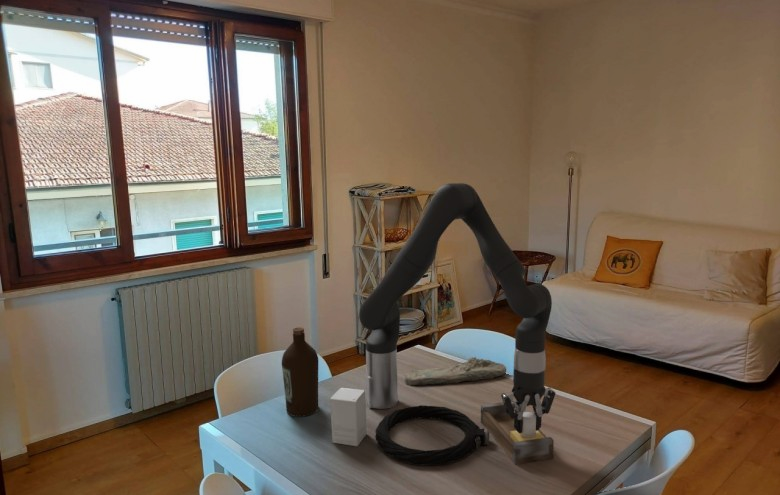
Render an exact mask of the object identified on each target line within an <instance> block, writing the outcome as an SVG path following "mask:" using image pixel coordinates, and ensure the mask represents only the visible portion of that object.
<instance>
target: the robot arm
mask: <svg viewBox="0 0 780 495" xmlns="http://www.w3.org/2000/svg"><path fill="white" fill-rule="evenodd" d="M456 220H462V221H463V222H464V224H466V225H467V226H468V228H469V229H470V230H471V232H472V233H473V234H474V237H475V238H476V241H477V244H478V247H479V250H480V254H481V257H482V259H483V260H484V262H485V264H486V265H487V267H488V268H489V270H490V271H491V272H492V274H493V276H494V277H495V278H496V280H497V281H498V282H499V283H500V286H501V290H502V292H503V294H504V297H505V299H506V301H507V303H508V305H509V307H510V309H511V310H512V312H514V313H515V314H516V315H518V316H519V317H521V318H522V320H521V322H520V323H519V324H518V325H517V326H516V330H515V340H514V341H515V344H514V345H515V347H514V352H513V372H512V373H513V374H512V375H513V378H512V380H513V381H512V384H513V387H512V389H511V392H509V393H507V394H506V393H501V396H500V397H501V399H502V402H503V403H504V406H505V409H506V412H507V414H508V415H509V416H510V417H511V418H512V419H513V418H514V428H515V429H516V431H517V432H518V433H522V425H523V420H522V416H523V413H524V412H526V409H527V407H529V406H532V411H533V414H535V415H536V431H538V430H540V428H541V427H542V418H543V415H545V414H546V415H548V414H549V413H550V410H551V409H552V404H553V402H554V400H555V397H556V393H557V392H555V391H554V390H553V389H552V388H551V387H547V388H546V386H545V384H546V383H545V382H546V364H547V363H546V362H547V361H546V331H547V327H548V324H549V320H550V316H551V312H552V306H553V305H552V304H553V301H552V300H553V299H552V296H551V292H550V290H549V289H548V287H546V286H545V285H544V284H541V283H533V284H530V285H527V283H526V281H525V279H524V278H523V277H524V276H525V274H526V268H525V266H524V265H523V263H522V262H521V261H520V260H519V258H518V257H517V255H516V254H515V253H514V251H513V250H512V249H511V247H510V246H509V244H508V243H507V242H506V240H505V239H504V238H503V236H502V235H501V233H500V231H499V230H498V228H497V226H496V225H495V223H494V221H493V220H492V218H491V216H490V215H489V213H488V211H487V209H486V207H485V205H484V203H483V202H482V200H481V197H480V196H479V194H478V192H477V191H476V189H475V188H474V187H473V186H472V185H470V184H468V183H461V182H460V183H459V182H458V183H457V182H453V183H446V184H443V185H441V186H440V187H438V189H437V190H436V191H435V193H434V194H433V196H432V198H431V199H430V202H429V203H428V206H427V208H426V210H425V211H424V213H423V216H422V217H421V219H420V221H419V222H418V224H417V225H416V227H415V228H414V230H413V232H411V234H410V236H409V237H408V239H407V240H406V242H405V243H404V244H403V246H402V247H401V249H400V250H399V252H398V253H397V255H396V257H395V258H394V260H393V261H392V263H391V265H390V266H389V268H388V269H387V271H386V272H385V273H384V275H383V277H382V279H381V280H380V282H379V283H378V284H377V286H376V287H375V289H373V291H372V292H371V293H370V294H369V295H368V296H367V298H366V299H365V300H364V301H363V302H362V304H361V306H360V308H359V313H358V314H359V315H358V316H359V321H360V324H361V325H362V327H364V328H365V329H367V330H369V331H371V333H370V334H369V335H368V337H367V338H366V340H365V365H366V368H365V369H366V370H365V371H364V380H365V383H364V384H365V401H366V404H367V406H368V408H369V409H377V410H378V409H379V410H385V409H391V408H393V407H396V405H397V404H398V401H399V400H398V396H399V394H398V352H397V351H398V350H397V349H398V348H397V346H398V341H399V338H400V322H401V321H400V320H401V313H400V306H399V304H398V303H399V302H398V301H399V300H400V299H401V298H402V297H403V296H404V295H405V294H407V293H408V292H409V291H410V290H411V289H412V288H414V287H415V286H416V284H418V283H419V282H420V280H421V279H423V277H424V276H425V275H426V274H427V272H428V271H429V269H430V267H431V266H432V265H433V263H434V261H435V259H436V255H437V250H438V245H439V241H440V239H441V238H442V235H443V234H444V233H445V232H446V230H447V228H448V227H449V226H450V225H451V224H452V223H453V222H454V221H456ZM514 399H515V400H514ZM541 399H542V400H541ZM513 401H515V409H514V410H513V407H512V402H513Z"/></svg>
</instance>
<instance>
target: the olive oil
mask: <svg viewBox="0 0 780 495" xmlns="http://www.w3.org/2000/svg"><path fill="white" fill-rule="evenodd" d="M292 332H293V333H292V342H291V344H290V345H289V346H288V347H287V348H286V350H285V351H284V353H283V354H282V358H281V369H282V378H283V379H282V380H283V388H284V389H283V390H284V397H285V398H284V399H285V407H286V410H285V411H286V413H287V414H288V415H290V416H293V417H301V418H302V417H308V416H311V415H314V414H315V413H317V411H318V410H319V355H318V354H317V351H316V349H315V348H314V347H313V346H312V345H310V344H309V343H308V342H307V341H306V336H305V334H306V333H305V328H304V327H295V328H293V329H292Z"/></svg>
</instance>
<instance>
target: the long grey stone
mask: <svg viewBox="0 0 780 495" xmlns="http://www.w3.org/2000/svg"><path fill="white" fill-rule="evenodd" d="M506 373H507V366H506V365H505V364H503V363H499V362H495V361H492V360H491V359H483V358H476V356H474V357H473V356H472V357H470V358H468V360H467V361H465V362H460V363H458V364H456V365H454V366H443V367H436V368H425V369H424V368H423V369H419V370H417V369H416V370H411V371H408V372H407V373H406V374H405V375H404V382H405V384H406V385H409V386H419V385H421V386H424V385H441V384H457V383H458V384H459V383H460V382H467V381H468V382H469V381H473V382H475V381H480V380H488V379H489V380H491V379H494V378H497V377H501V376H502V375H505V374H506Z"/></svg>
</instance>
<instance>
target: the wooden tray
mask: <svg viewBox="0 0 780 495" xmlns="http://www.w3.org/2000/svg"><path fill="white" fill-rule="evenodd" d="M515 401H516V400H513V402H512V407H513V410H514V409H515ZM480 422H481V424H482V426H483V427H484V429H486V431H487V430H488V432H489V435H491V436H492V437H493V439H494V440H495V441H496V442H497V444H498V445H499V447H501V448H502V450H503V451H504V452H505V453H506V455H507V456H508V457H509V459H510V460H511V461H512V462H513V463H514V465H520V464H521V465H522V464H528V463H534V462H541V461H546V460H553V459H554V445H555V444H554V442H555V440H554V439H553V437H551V436H548V437H547V436H546V434H545V433H543V432H542V431H541V429H539V430H538V431H539V432H540V433H541V434H542V435H543V436H544V437H545V438H540V439H533V440H526V441H520V442H514V441H513V440H512V438H511V437H510V431H515V430H516V429H515V428H514V418H513V419H512V418H511V417H510V416H509V415H508V414H507V412H506V409H505V406H504V403H503V401H502V402H495V403H486V404H481V405H480Z"/></svg>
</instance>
